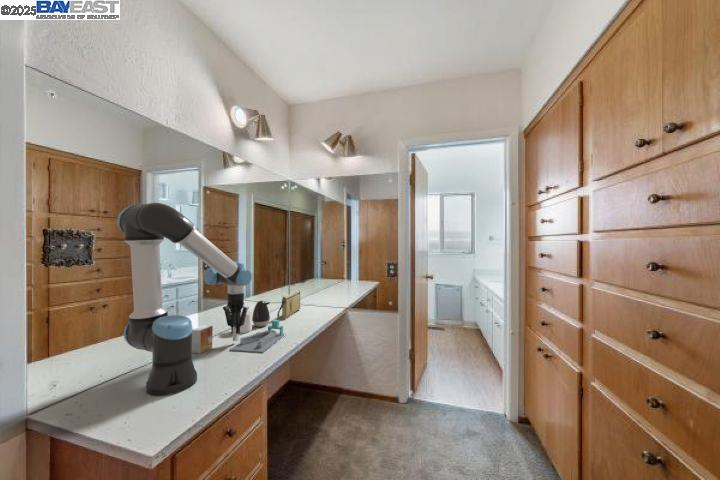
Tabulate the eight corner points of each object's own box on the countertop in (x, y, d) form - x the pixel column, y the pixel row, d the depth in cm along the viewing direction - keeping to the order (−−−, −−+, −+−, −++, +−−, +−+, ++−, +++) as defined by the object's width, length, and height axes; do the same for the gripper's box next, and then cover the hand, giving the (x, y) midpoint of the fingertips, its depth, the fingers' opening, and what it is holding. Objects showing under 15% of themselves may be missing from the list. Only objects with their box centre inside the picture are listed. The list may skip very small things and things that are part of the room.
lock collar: (269, 333, 155) (269, 319, 155) (283, 333, 154) (283, 320, 154) (267, 334, 153) (267, 320, 153) (281, 335, 152) (281, 321, 152)
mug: (226, 333, 157) (226, 315, 157) (233, 329, 165) (233, 311, 165) (248, 333, 157) (248, 315, 157) (254, 329, 165) (254, 311, 165)
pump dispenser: (266, 328, 167) (266, 302, 167) (249, 328, 167) (249, 302, 167) (272, 323, 177) (272, 299, 177) (255, 323, 177) (256, 299, 177)
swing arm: (267, 336, 150) (267, 330, 150) (269, 336, 149) (269, 331, 149) (240, 343, 139) (240, 337, 139) (242, 344, 137) (242, 338, 137)
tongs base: (272, 335, 151) (272, 330, 151) (277, 335, 151) (277, 330, 151) (254, 347, 134) (254, 341, 134) (261, 348, 133) (261, 341, 133)
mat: (263, 353, 129) (263, 351, 129) (229, 350, 131) (229, 349, 131) (286, 334, 154) (286, 333, 154) (257, 333, 157) (257, 332, 157)
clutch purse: (292, 309, 214) (292, 289, 214) (301, 310, 212) (301, 290, 213) (274, 320, 184) (274, 297, 184) (284, 320, 183) (284, 297, 183)
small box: (200, 353, 128) (200, 330, 128) (189, 352, 129) (189, 329, 129) (212, 347, 136) (213, 325, 136) (202, 346, 137) (202, 324, 137)
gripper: (251, 291, 144) (251, 338, 143) (228, 291, 146) (228, 336, 145) (243, 294, 136) (243, 343, 136) (219, 293, 138) (218, 341, 138)
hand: (235, 339), depth 141 cm, fingers closed
